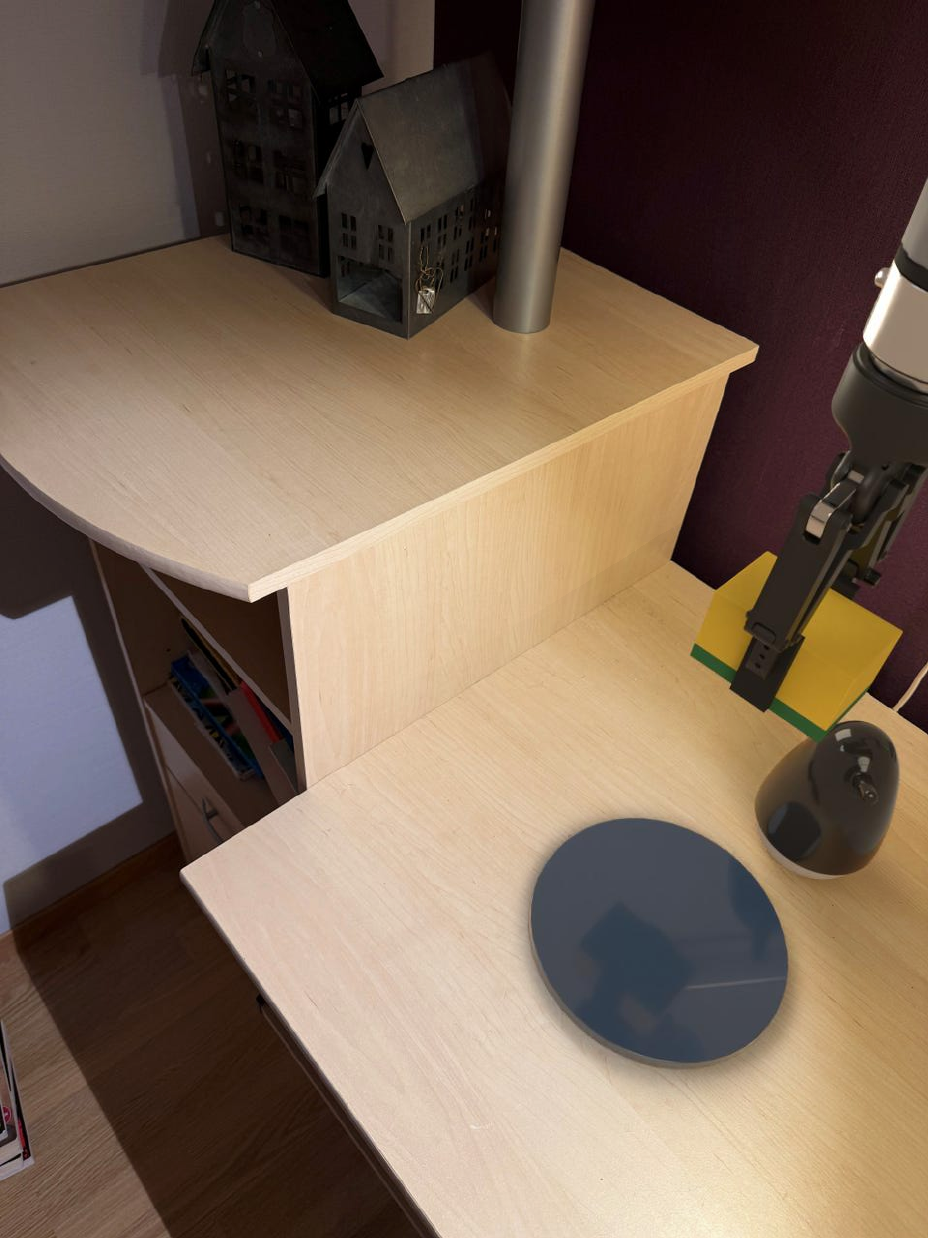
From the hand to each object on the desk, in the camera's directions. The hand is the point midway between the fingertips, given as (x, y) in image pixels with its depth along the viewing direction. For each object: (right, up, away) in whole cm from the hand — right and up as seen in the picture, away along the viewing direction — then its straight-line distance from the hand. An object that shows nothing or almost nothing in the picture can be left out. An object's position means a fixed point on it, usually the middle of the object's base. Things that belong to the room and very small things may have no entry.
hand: (777, 671), depth 61 cm
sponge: (0, 0, 0) cm, 0 cm away
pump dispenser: (+8, -16, +17) cm, 25 cm away
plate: (-6, -21, +10) cm, 24 cm away
